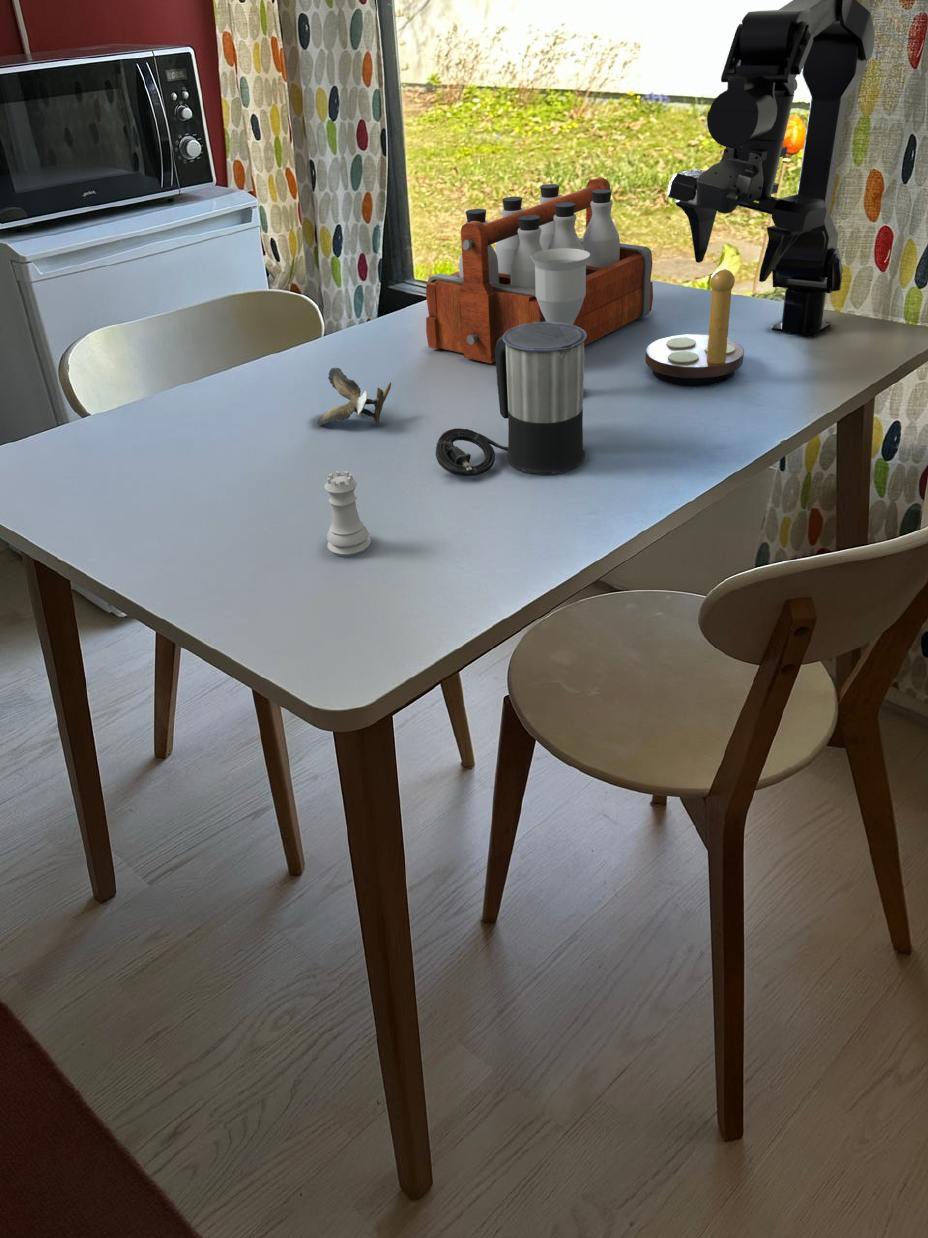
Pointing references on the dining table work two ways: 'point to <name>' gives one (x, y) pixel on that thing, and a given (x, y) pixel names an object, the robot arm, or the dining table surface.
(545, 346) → the milk frother
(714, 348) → the joystick with buttons
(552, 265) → the chalice
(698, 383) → the holder base
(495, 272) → the milk bottle holder
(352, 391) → the eagle figurine
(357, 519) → the rook chess piece
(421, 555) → the dining table surface
